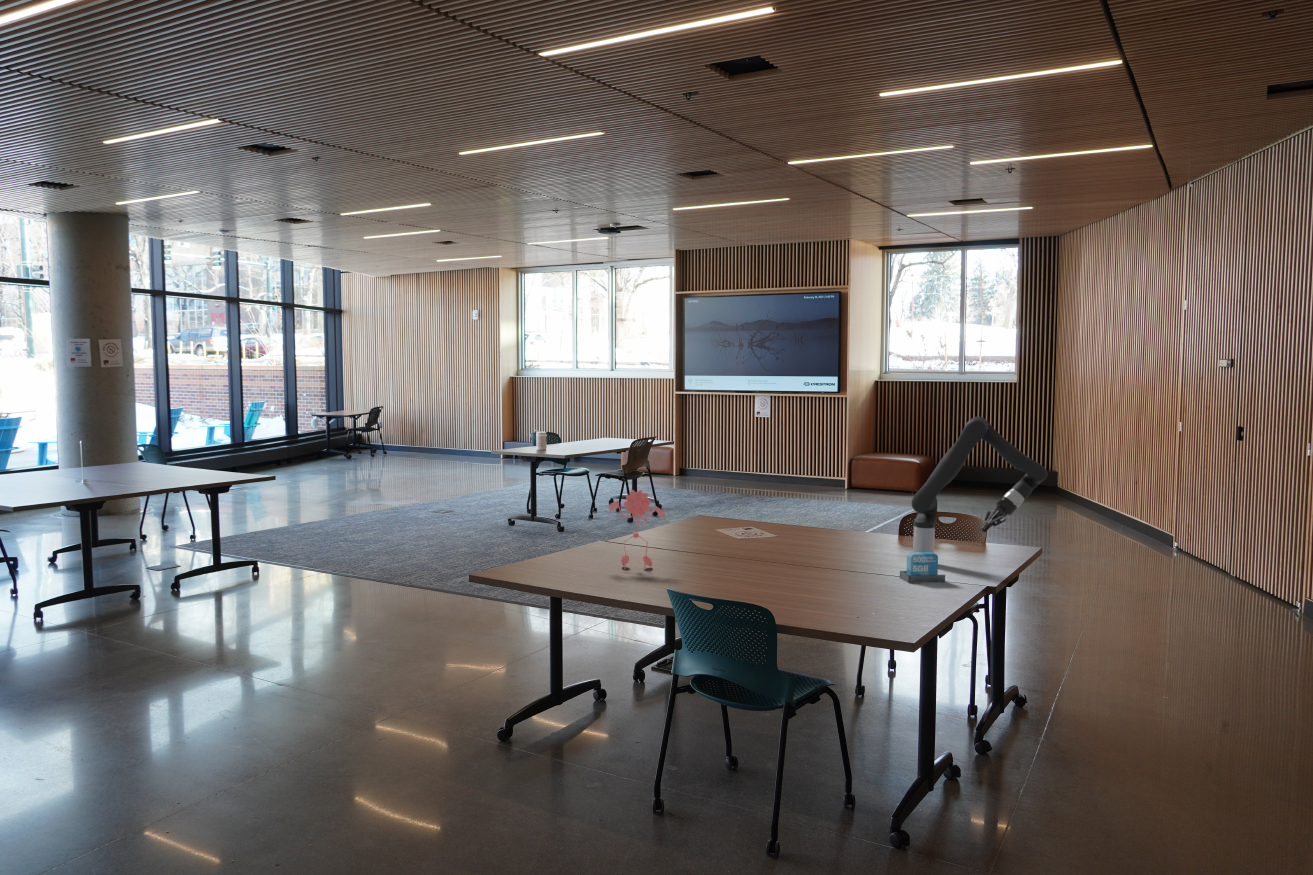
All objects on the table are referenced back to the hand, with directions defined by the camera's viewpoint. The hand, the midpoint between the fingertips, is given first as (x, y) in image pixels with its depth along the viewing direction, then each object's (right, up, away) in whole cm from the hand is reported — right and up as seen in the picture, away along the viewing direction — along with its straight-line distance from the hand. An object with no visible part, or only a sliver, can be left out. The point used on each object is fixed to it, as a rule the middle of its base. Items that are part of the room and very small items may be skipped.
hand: (982, 530), depth 383 cm
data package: (-27, -21, -4) cm, 34 cm away
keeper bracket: (-26, -21, -2) cm, 33 cm away
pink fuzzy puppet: (-148, -19, +23) cm, 151 cm away
